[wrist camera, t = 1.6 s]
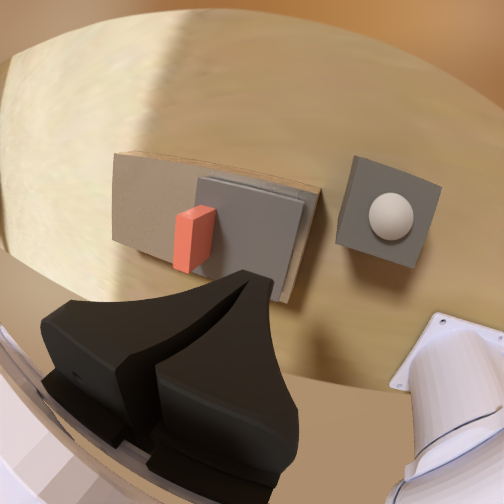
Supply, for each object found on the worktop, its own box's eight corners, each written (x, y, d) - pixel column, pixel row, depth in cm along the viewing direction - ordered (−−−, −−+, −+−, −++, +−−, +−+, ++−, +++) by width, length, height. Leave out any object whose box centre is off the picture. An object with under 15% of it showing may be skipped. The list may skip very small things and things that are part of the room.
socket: (321, 188, 16) (317, 194, 14) (294, 286, 19) (287, 303, 17) (135, 150, 19) (113, 153, 17) (131, 231, 22) (112, 239, 20)
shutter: (305, 201, 14) (294, 214, 11) (280, 297, 16) (265, 326, 14) (202, 176, 15) (172, 183, 12) (192, 267, 18) (166, 288, 15)
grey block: (414, 176, 14) (445, 188, 9) (396, 236, 15) (415, 272, 11) (354, 155, 15) (359, 156, 10) (338, 217, 16) (335, 246, 11)
